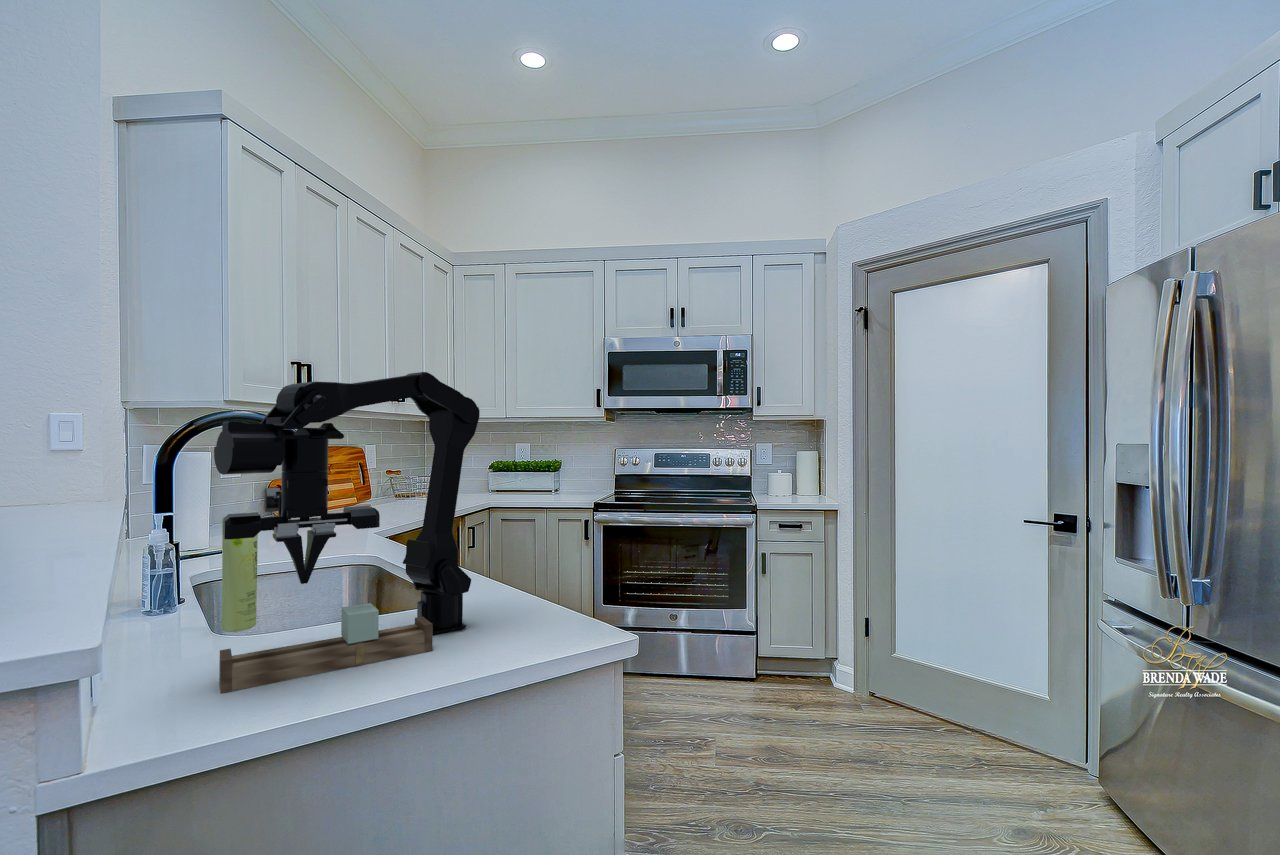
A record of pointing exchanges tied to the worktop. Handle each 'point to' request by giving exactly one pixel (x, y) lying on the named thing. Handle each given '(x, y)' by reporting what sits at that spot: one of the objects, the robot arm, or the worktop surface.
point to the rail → (320, 656)
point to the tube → (239, 583)
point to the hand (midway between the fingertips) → (303, 583)
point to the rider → (359, 623)
